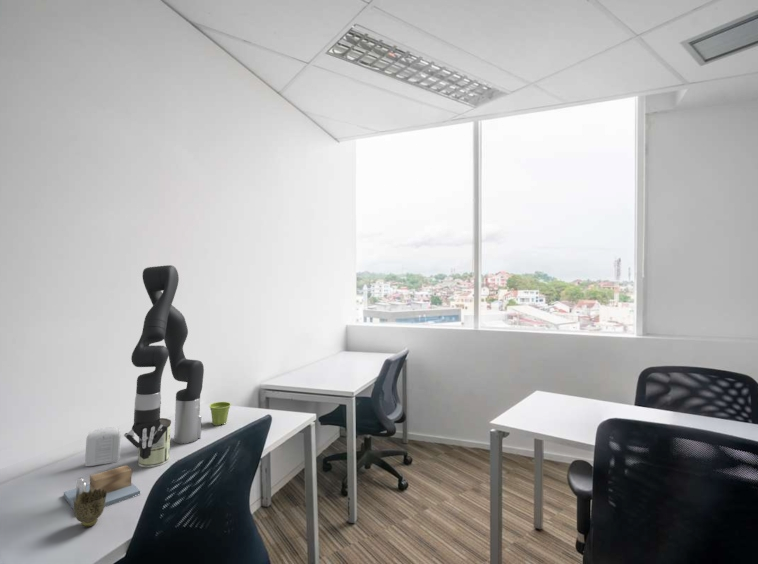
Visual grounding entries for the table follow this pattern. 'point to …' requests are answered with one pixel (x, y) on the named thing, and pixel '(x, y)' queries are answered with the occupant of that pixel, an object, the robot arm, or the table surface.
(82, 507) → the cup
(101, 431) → the photo printer
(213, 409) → the plant pot
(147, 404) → the robot arm
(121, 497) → the base board
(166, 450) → the coffee can
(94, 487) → the flange bar
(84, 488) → the dowel pins
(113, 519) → the table surface
